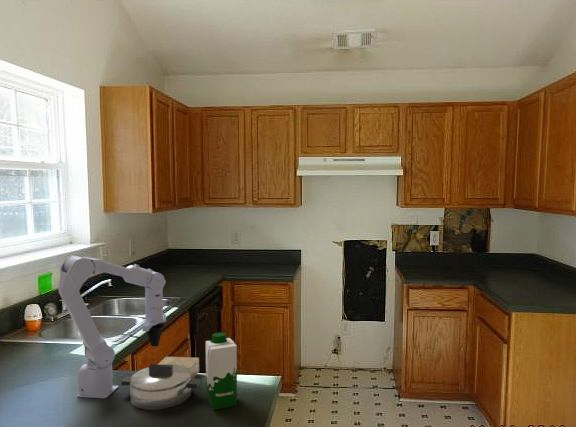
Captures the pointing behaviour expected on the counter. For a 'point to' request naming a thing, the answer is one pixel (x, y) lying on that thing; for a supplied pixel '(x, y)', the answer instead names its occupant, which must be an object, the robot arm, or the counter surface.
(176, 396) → the cooker pot
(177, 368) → the cooker lid
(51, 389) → the counter surface
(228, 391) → the milk carton
